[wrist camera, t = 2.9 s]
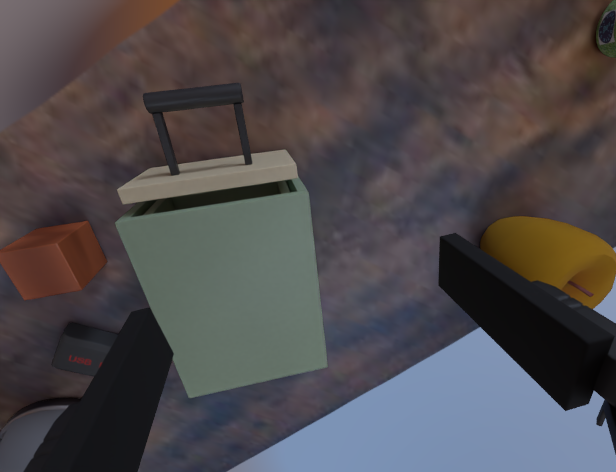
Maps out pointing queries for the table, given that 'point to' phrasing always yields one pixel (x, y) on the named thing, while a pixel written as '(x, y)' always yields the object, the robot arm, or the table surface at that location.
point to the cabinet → (232, 287)
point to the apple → (554, 255)
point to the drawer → (210, 173)
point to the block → (53, 260)
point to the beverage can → (607, 31)
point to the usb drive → (82, 349)
